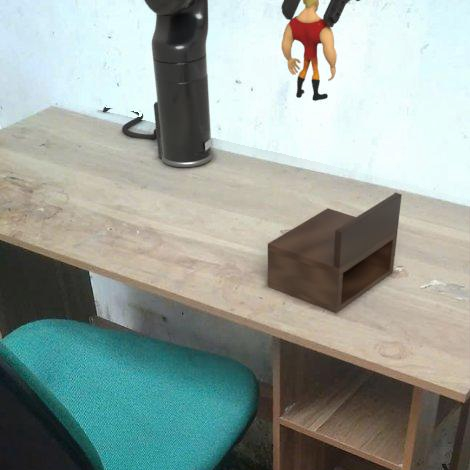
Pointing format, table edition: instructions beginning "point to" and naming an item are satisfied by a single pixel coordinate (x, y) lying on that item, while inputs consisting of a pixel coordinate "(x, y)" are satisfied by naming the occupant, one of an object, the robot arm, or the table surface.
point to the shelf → (336, 255)
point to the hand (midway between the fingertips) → (306, 19)
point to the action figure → (309, 46)
